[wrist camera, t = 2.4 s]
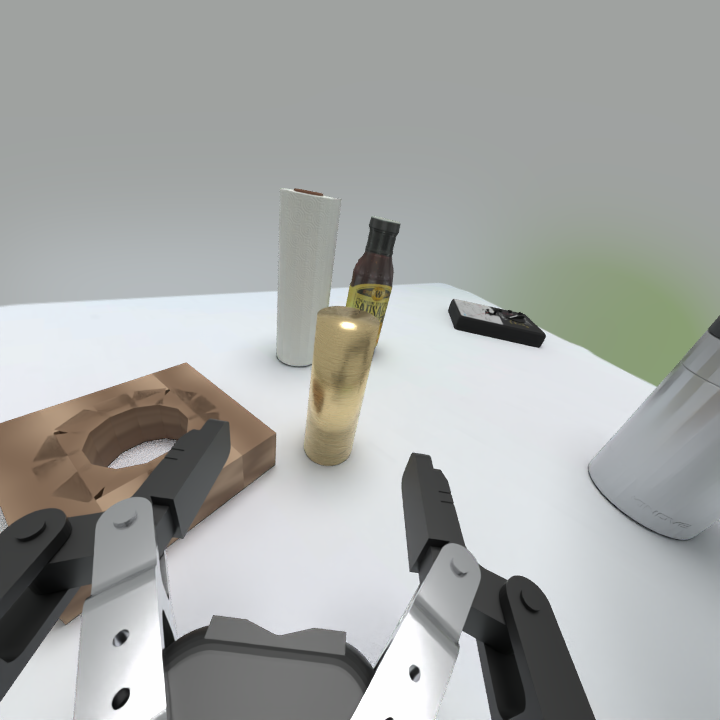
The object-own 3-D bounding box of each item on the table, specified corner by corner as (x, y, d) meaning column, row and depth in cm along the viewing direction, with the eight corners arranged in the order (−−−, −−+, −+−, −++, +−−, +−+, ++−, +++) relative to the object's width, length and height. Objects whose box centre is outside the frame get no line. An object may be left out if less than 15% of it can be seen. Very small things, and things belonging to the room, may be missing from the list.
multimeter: (539, 349, 62) (551, 329, 59) (453, 330, 63) (461, 310, 60) (519, 327, 73) (528, 309, 71) (447, 311, 74) (453, 293, 72)
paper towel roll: (275, 367, 38) (279, 186, 28) (276, 345, 43) (280, 185, 33) (327, 368, 40) (350, 200, 30) (323, 347, 45) (341, 196, 34)
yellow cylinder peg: (325, 421, 31) (343, 302, 24) (360, 445, 29) (391, 322, 22) (293, 446, 28) (303, 313, 21) (330, 474, 26) (355, 339, 18)
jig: (191, 392, 31) (186, 362, 29) (275, 464, 25) (276, 433, 23) (-1, 471, 21) (-29, 432, 19) (65, 624, 15) (34, 592, 13)
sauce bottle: (343, 359, 43) (367, 217, 33) (334, 340, 48) (352, 211, 38) (382, 358, 46) (415, 225, 36) (369, 340, 50) (395, 219, 40)
